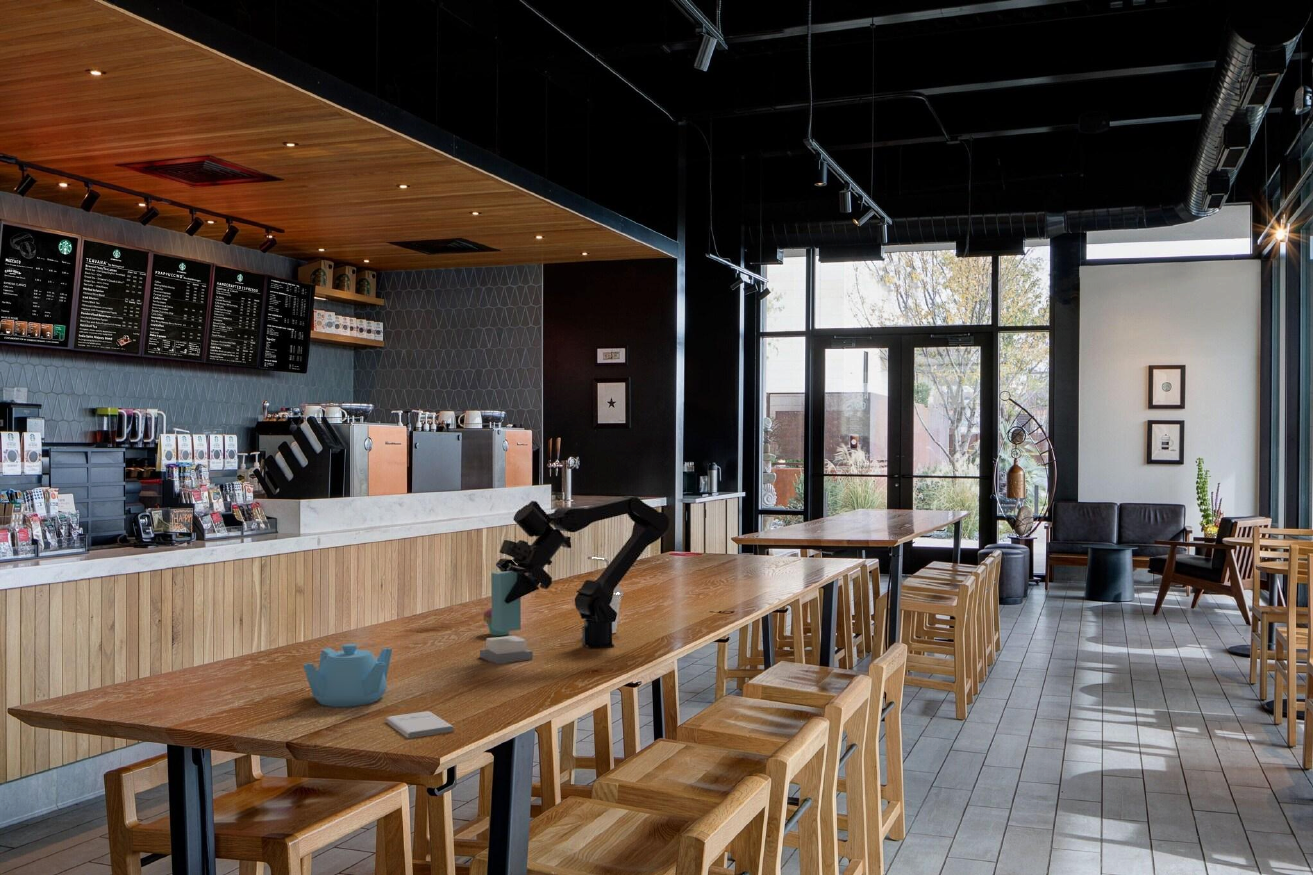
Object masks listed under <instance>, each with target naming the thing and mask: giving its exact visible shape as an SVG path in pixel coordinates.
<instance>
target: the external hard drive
mask: <svg viewBox="0 0 1313 875" xmlns="http://www.w3.org/2000/svg"><path fill="white" fill-rule="evenodd" d="M385 719H386V720H385V723H387V724H388V725H389V726H391V728H393V729H394V730H396V731H397V732H398V733H400V734H402V736H404V737H405V738H407V740H408V739H414V738H421V737H426V736H427V737H429V736H435V735H440V734H446V733H454V732H455V726H454V725H452V724H450V723H449V722H447V721H445V720H444V719H443V718H441V717H439V716H438V715H435V714H434V713H432V711H428V710H427V711H419V712H413V713H405V714H397V715H390V716H388V717H386V718H385Z"/></svg>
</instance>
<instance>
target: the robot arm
mask: <svg viewBox="0 0 1313 875" xmlns="http://www.w3.org/2000/svg"><path fill="white" fill-rule="evenodd" d="M623 515H627V516H628V517H629V519H630V520H631V521H632V522H633V523H634V524H633V526H632V531H631V535H630V536H629V538H628V540H627V541H626V542H625V543H624V545H623V546H622V548H621V549H620V550H619V551H618V553H617V554H616V555H615V556H614V557H613V559H612V560H611V561H610V562H609V565H608V567H607V568H605V569H604V570H603V572H602V573H601V574H600V575H599V577H598V578H597V579H595V580H591V579H586V580H585V581H584V582H583V584H582V585H581V587H580V588H579V589H577V590H576V591H575V592H576V593H577V594H576V596H575V598H574V605H575V609H576V610H577V611H578V612H579V615H580V618H581V620H583V621H584V624H583V626H582V627H581V630H582V631H581V633H582V636H581V637H582V638H581V641H582V645H584V646H585V647H587V648H588V649H595V648H608V647H609V648H610V647H615V643H613V633H612V622H615V620H616V617H617V612H616V611H615V610H614V609H613V608H612V607H611V606H610V603H611V601H612V598H613V592H614V589H615V588H616V586H617V585H620V582H621V581H622V579H623V578H625V576H626V575H627V574H628V572H629V571H630V570H631V568H632V567H633V566H634V564H635V562H637V561H638V560H639V558H640V556H641V555H642V553H643V552H644V551H645V550H646V549H647V548H648V546H650V545H652V544H653V543H655V542H657V541H658V540H660V539H662V537H663V536H664V535H666V533H667V532H668V530H669V529H670V526H671V525H670V520H669V516H668V515H667V514H666V513H664V512H661V511H658V510H657V509H656V508H654V507H652V506H650V505H649V504H647V503H646V502H644V501H643V500H642V499H640V498H639V497H637V496H632V495H625V496H623V497H621V498H617V499H612V500H608V501H603V502H599V503H596V504H591V505H588V506H587V505H586V506H566V507H565V506H562V507H557V508H556V509H555V510H554V511H553V512H551V513H547V512H546V511H545V510H544V509H543V508H542V507H541V505H540V504H539V503H538V502H537V501H535V500H531V501H530V502H529V503H528V504H525V505H524V506H523V507H521V508H519V509H518V510H517V512H515V513H514V516H513V521H514V522H515V523H516V525H518V526H519V527H520V528H521V529H522V531H524V533H525V534H526V535H527V536H528V537H530V538H532V537H536V538H535V539H534V540H533V542H532V543H531V544H529V542H528V541H526V540H523V539H520V540H518V541H517V542H516V541H513V540H509V539H503V541H502V544H501V546H500V549H499V554H502V555H506V556H508V557H511V558H512V559H509V558H500V559H499V560H498V561H497V562H496V563H495V566H496V567H497V569H499V572H505V571H513V572H516V573H517V581H516V583H515V584H514V586H513V587H512V589H511V591H510V592H509V594H508V595H507V597H506V599H505V602H506V603H507V604H509V603H511V602H513V601H514V600H516V599H518V598H520V597H521V598H523V597H524V596H526V595H529V594H531V593H533V592H535V591H539V590H540V588H541V589H544V590H548V589H549V588H550V586H552V582H553V577H552V576H551V575H550V574H549V573H548V571H546V570H545V569H544V568H545V567H546V566H551V564H552V563H553V561H552V558H553V557H554V556H555V554H556V553H557V552H558V551H559V549H561V547H562V548H566V549H571V548H572V542H571V538H572V537H571V536H567V535H564V534H563V532H567V533H577V532H579V531H581V530H583V529H586V528H587V527H588V526H590V525H591V524H593V523H595V522H599V521H602V520H603V521H604V520H607V519H611V518H615V517H619V516H623ZM539 585H540V586H539Z"/></svg>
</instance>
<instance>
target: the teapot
mask: <svg viewBox="0 0 1313 875" xmlns="http://www.w3.org/2000/svg"><path fill="white" fill-rule="evenodd" d="M357 647H358V645H357V644H355V643H346V644H343V645H342V646H341V648H342V650H338V651H336V650H334V649H332V648H330V647H329V648H322V649H321V652H320V656H319V662H318V668H316V666H315V664H314V663H311V662H309V663H304V664H302V666H303V669H304V670H303V671H304V672H305V676H306V678H307V682H308V684H309V687H310V690H311V692H312V696H313V697H314V698H315V700H316V701H317V702H318V703H319V704H320V705H322V706H326V707H334V708H347V707H358V706H363V705H369V704H372V703H375V702H377V701H379V700H380V699H381V698H382V696H383V695H384V694H385V693H386V691H387V685H388V684H387V679H388V678H387V677H388V672H389V667H390V663H391V656H392V652H393V648H389V647H387V648H382V649H381V651H380V654H379V655H378V657H377V658H376V657H375V655H374V654H373V653H372V651H369V650H366V649H357Z"/></svg>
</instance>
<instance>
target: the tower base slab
mask: <svg viewBox="0 0 1313 875" xmlns="http://www.w3.org/2000/svg"><path fill="white" fill-rule="evenodd" d="M533 652H534V651H533V650H530V649H528V648H526V651H523V652H514V653H505V654H496V653H494V652H492V651H489V650H487V649H486V648H480V649H479V658H480V659H483V660H486V661H489V662H491V663H494V664H496V665H499V664H508V663H513V662H521V661H528V660H530V661H531V660H533V658H534V657H533V656H534V655H533Z"/></svg>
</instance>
